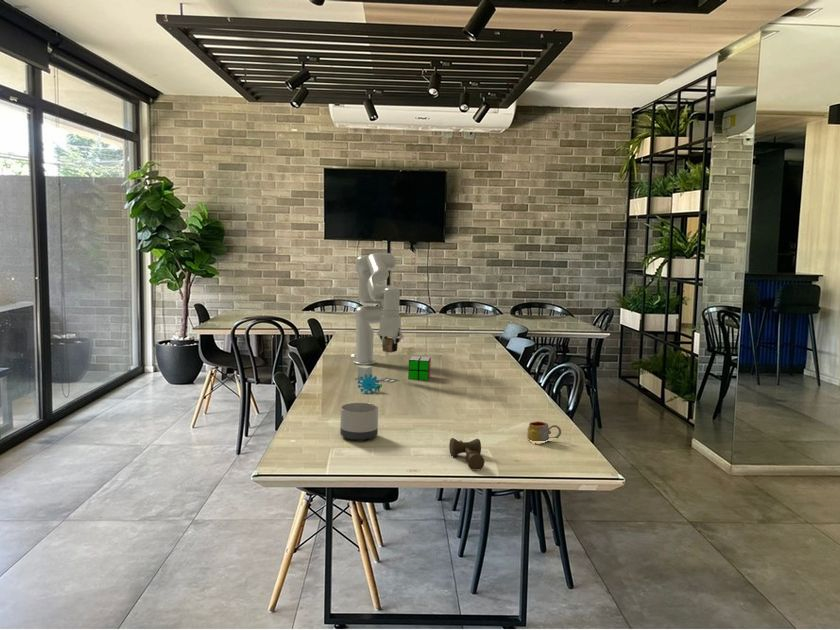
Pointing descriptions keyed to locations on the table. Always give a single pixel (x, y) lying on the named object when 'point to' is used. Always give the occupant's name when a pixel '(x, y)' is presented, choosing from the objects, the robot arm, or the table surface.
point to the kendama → (468, 452)
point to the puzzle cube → (419, 368)
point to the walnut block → (388, 345)
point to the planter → (359, 421)
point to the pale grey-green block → (364, 371)
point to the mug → (540, 431)
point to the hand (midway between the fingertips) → (389, 350)
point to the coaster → (389, 380)
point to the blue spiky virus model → (369, 384)
